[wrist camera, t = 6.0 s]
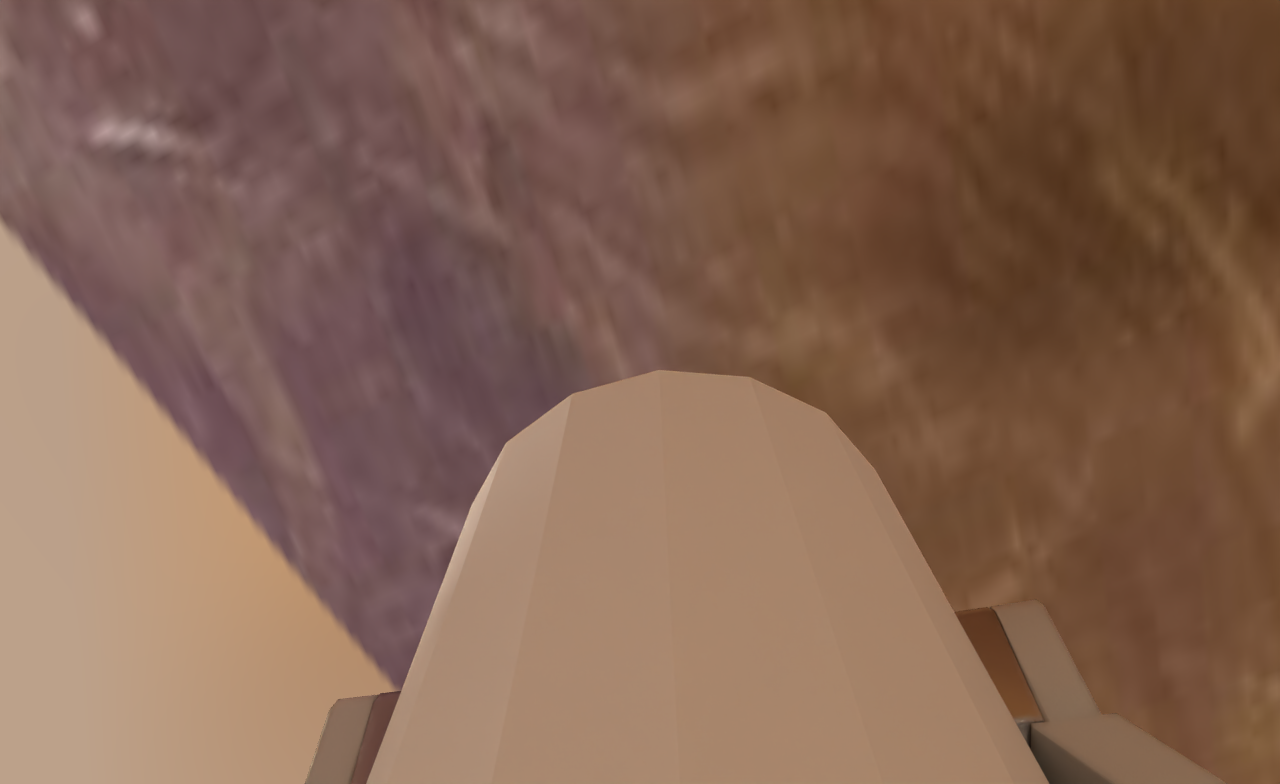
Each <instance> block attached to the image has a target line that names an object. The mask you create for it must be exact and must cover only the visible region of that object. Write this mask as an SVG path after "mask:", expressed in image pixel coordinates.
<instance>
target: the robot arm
mask: <svg viewBox="0 0 1280 784" xmlns="http://www.w3.org/2000/svg"><path fill="white" fill-rule="evenodd" d="M954 613H955V614H956V616H957V618H958V620H959V622H960V624H961V625H962V627H963V629H964V631H965V633H966V634H967V636H968V638H969V640H970V642H971V643H972V645H973V647H974V649H975V651H976V652H977V654H978V656H979V658H980V660H981V661H982V663H983V665H984V667H985V669H986V670H987V672H988V674H989V676H990V678H991V679H992V681H993V683H994V685H995V687H996V688H997V690H998V692H999V694H1000V696H1001V697H1002V699H1003V701H1004V703H1005V705H1006V706H1007V708H1008V710H1009V712H1010V714H1011V715H1012V717H1013V719H1014V721H1015V723H1016V724H1017V726H1018V728H1019V730H1020V732H1021V733H1022V735H1023V737H1024V739H1025V741H1026V742H1027V744H1028V746H1029V748H1030V750H1031V752H1032V753H1033V755H1034V757H1035V759H1036V761H1037V762H1038V764H1039V766H1040V768H1041V770H1042V771H1043V773H1044V775H1045V777H1046V779H1047V780H1048V782H1049V784H1227V783H1226V782H1224V781H1223V780H1221V779H1219V778H1218V777H1216V776H1215V775H1213V774H1212V773H1210V772H1208V771H1207V770H1205V769H1204V768H1202V767H1201V766H1199V765H1197V764H1196V763H1194V762H1193V761H1191V760H1190V759H1188V758H1186V757H1185V756H1183V755H1182V754H1180V753H1178V752H1177V751H1175V750H1174V749H1172V748H1171V747H1169V746H1167V745H1166V744H1164V743H1163V742H1161V741H1160V740H1158V739H1156V738H1155V737H1153V736H1152V735H1150V734H1149V733H1147V732H1145V731H1144V730H1142V729H1141V728H1139V727H1138V726H1136V725H1134V724H1133V723H1131V722H1130V721H1128V720H1127V719H1125V718H1123V717H1122V716H1120V715H1119V714H1117V713H1112V714H1103V715H1102V714H1101V712H1100V710H1099V709H1098V707H1097V705H1096V703H1095V701H1094V699H1093V697H1092V695H1091V693H1090V691H1089V690H1088V688H1087V686H1086V684H1085V682H1084V680H1083V678H1082V676H1081V674H1080V673H1079V671H1078V669H1077V667H1076V665H1075V663H1074V661H1073V659H1072V657H1071V655H1070V654H1069V652H1068V650H1067V648H1066V646H1065V644H1064V642H1063V640H1062V638H1061V637H1060V635H1059V633H1058V631H1057V629H1056V627H1055V625H1054V623H1053V621H1052V619H1051V618H1050V616H1049V614H1048V612H1047V610H1046V608H1045V606H1044V605H1043V604H1042V603H1041V602H1039V601H1038V600H1037V599H1035V600H1029V601H1022V602H1016V603H1009V604H1003V605H997V606H991V607H990V608H987V607H984V608H978V609H971V610H965V611H958V612H954ZM400 693H401V691H397V692H389V693H381V694H380V695H372V696H362V697H354V698H345V699H338V700H337V701H336V703H335V704H334V705H333V706H332V707H331V709H330V710H329V712H328V715H327V718H326V721H325V724H324V727H323V730H322V733H321V736H320V739H319V742H318V745H317V748H316V751H315V754H314V757H313V760H312V763H311V766H310V769H309V772H308V775H307V779H306V781H305V784H366V783H367V781H368V778H369V775H370V773H371V770H372V767H373V765H374V762H375V759H376V757H377V754H378V751H379V749H380V746H381V744H382V741H383V738H384V736H385V733H386V730H387V728H388V725H389V722H390V720H391V717H392V714H393V712H394V709H395V706H396V704H397V701H398V699H399V696H400Z"/></svg>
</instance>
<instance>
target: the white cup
mask: <svg viewBox="0 0 1280 784" xmlns="http://www.w3.org/2000/svg"><path fill="white" fill-rule="evenodd" d="M366 784H1049V782H1048V780H1047V779H1046V777H1045V775H1044V773H1043V771H1042V770H1041V768H1040V766H1039V764H1038V762H1037V761H1036V759H1035V757H1034V755H1033V753H1032V752H1031V750H1030V748H1029V746H1028V744H1027V742H1026V741H1025V739H1024V737H1023V735H1022V733H1021V732H1020V730H1019V728H1018V726H1017V724H1016V723H1015V721H1014V719H1013V717H1012V715H1011V714H1010V712H1009V710H1008V708H1007V706H1006V705H1005V703H1004V701H1003V699H1002V697H1001V696H1000V694H999V692H998V690H997V688H996V687H995V685H994V683H993V681H992V679H991V678H990V676H989V674H988V672H987V670H986V669H985V667H984V665H983V663H982V661H981V660H980V658H979V656H978V654H977V652H976V651H975V649H974V647H973V645H972V643H971V642H970V640H969V638H968V636H967V634H966V633H965V631H964V629H963V627H962V625H961V624H960V622H959V620H958V618H957V616H956V614H955V613H954V611H953V609H952V607H951V605H950V604H949V602H948V600H947V598H946V596H945V595H944V593H943V591H942V589H941V587H940V586H939V584H938V582H937V580H936V578H935V577H934V575H933V573H932V571H931V569H930V568H929V566H928V564H927V562H926V560H925V559H924V557H923V555H922V553H921V551H920V550H919V548H918V546H917V544H916V542H915V541H914V539H913V537H912V535H911V533H910V532H909V530H908V528H907V526H906V524H905V523H904V521H903V519H902V517H901V515H900V514H899V512H898V510H897V508H896V506H895V505H894V503H893V501H892V499H891V497H890V496H889V494H888V492H887V490H886V488H885V487H884V485H883V483H882V481H881V479H880V477H879V476H878V474H877V472H876V470H875V469H874V468H873V466H872V465H871V464H870V463H869V462H868V461H867V459H866V458H865V457H864V456H863V455H862V454H861V453H860V451H859V450H858V449H857V448H856V447H855V446H854V444H853V443H852V442H851V441H850V440H849V439H848V437H847V436H846V435H845V434H844V433H843V432H842V431H841V429H840V428H839V427H838V426H837V425H836V424H835V422H834V421H833V420H832V419H831V418H830V417H829V416H828V414H827V413H825V412H823V411H821V410H819V409H817V408H815V407H813V406H811V405H808V404H806V403H804V402H802V401H800V400H798V399H796V398H793V397H791V396H789V395H787V394H785V393H783V392H781V391H779V390H776V389H774V388H772V387H770V386H768V385H766V384H764V383H761V382H759V381H757V380H755V379H753V378H751V377H744V376H731V375H717V374H704V373H691V372H678V371H665V370H657V371H654V372H650V373H646V374H643V375H639V376H635V377H632V378H628V379H624V380H621V381H617V382H613V383H610V384H606V385H602V386H599V387H595V388H592V389H588V390H584V391H581V392H577V393H573V394H571V395H570V396H569V397H567V398H566V399H564V400H563V401H562V402H560V403H559V404H558V405H556V406H555V407H554V408H552V409H551V410H550V411H548V412H547V413H546V414H544V415H543V416H541V417H540V418H539V419H537V420H536V421H535V422H533V423H532V424H531V425H529V426H528V427H527V428H525V429H524V430H523V431H521V432H520V433H518V434H517V435H516V436H514V437H513V438H512V439H510V440H509V441H508V442H506V444H505V446H504V447H503V449H502V451H501V453H500V455H499V456H498V458H497V460H496V462H495V464H494V466H493V467H492V469H491V471H490V473H489V475H488V476H487V478H486V480H485V482H484V484H483V486H482V487H481V489H480V491H479V493H478V495H477V496H476V498H475V500H474V502H473V504H472V506H471V508H470V511H469V513H468V516H467V519H466V521H465V524H464V527H463V529H462V532H461V535H460V537H459V540H458V542H457V545H456V548H455V550H454V553H453V556H452V558H451V561H450V564H449V566H448V569H447V572H446V574H445V577H444V580H443V582H442V585H441V587H440V590H439V593H438V595H437V598H436V601H435V603H434V606H433V609H432V611H431V614H430V617H429V619H428V622H427V624H426V627H425V630H424V632H423V635H422V638H421V640H420V643H419V646H418V648H417V651H416V654H415V656H414V659H413V662H412V664H411V667H410V669H409V672H408V675H407V677H406V680H405V683H404V685H403V688H402V691H401V693H400V696H399V699H398V701H397V704H396V706H395V709H394V712H393V714H392V717H391V720H390V722H389V725H388V728H387V730H386V733H385V736H384V738H383V741H382V744H381V746H380V749H379V751H378V754H377V757H376V759H375V762H374V765H373V767H372V770H371V773H370V775H369V778H368V781H367V783H366Z"/></svg>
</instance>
